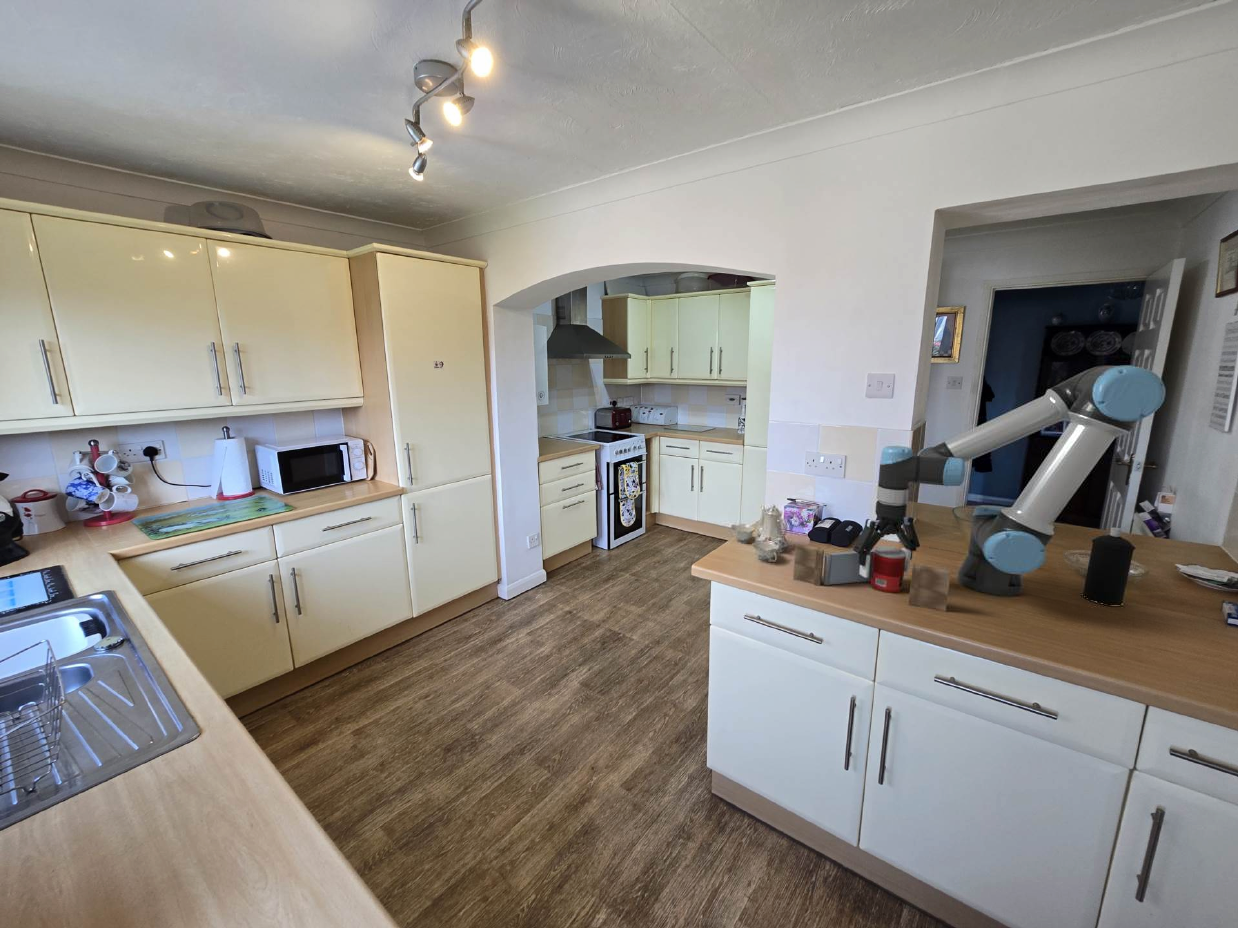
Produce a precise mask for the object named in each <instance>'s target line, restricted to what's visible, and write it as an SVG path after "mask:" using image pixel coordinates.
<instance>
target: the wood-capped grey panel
mask: <svg viewBox="0 0 1238 928" xmlns="http://www.w3.org/2000/svg"><path fill="white" fill-rule="evenodd" d="M794 549H795V550H794V563H793V579H792V580H794V581H799V582H803V583H808V584H813V585H814V586H821V584H822V583H823V571H824V568H823V567H824V559H825V548H824V547H817V546H811V545H805V544H799V543H796V544H795V548H794ZM951 574H952V573H951V570H950V569H949V570H947V569H943V568H937V567H931V566H925V565H921V564H917V563H912V569H911V577H910V588H909V596H908V605H909V606H913V607H914V606H915V607H916V606H917V607H920V608H921V607H922V608H925V609H926V608H927V609H931V610H936V611H940V612H945V613H946V611H947V603H948V596H949V590H950V583H951V582H950V581H951Z"/></svg>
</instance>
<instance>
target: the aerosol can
mask: <svg viewBox="0 0 1238 928" xmlns="http://www.w3.org/2000/svg"><path fill="white" fill-rule="evenodd" d="M1121 534H1122V528H1120V527H1111V528H1110V531H1109V534H1105V535H1099V536H1097V537H1095V538H1093V539H1092V540H1091V542H1092V545H1091V550H1090V556H1089V560H1088V566H1087V570H1086V575H1085V581H1084V587H1083V593H1082V592H1081V595H1082V594H1083V596H1085V598H1088V599H1089V600H1093V601H1097V602H1098V603H1103V604H1107V605H1121V604H1122V603H1123V602H1124V599H1125V598H1124V597H1125V593H1126V588H1127V582H1128V578H1129V573H1130V568H1131V564H1132V559H1133V554H1134V551H1136V547H1135V546H1134V545H1133V543H1132V542H1131V541H1129V540H1127V539H1126V538H1124V537H1122V536H1121ZM1083 596H1082V597H1083ZM1085 598H1084V599H1085ZM1089 600H1088V601H1089ZM1098 603H1097V604H1098ZM1107 605H1106V606H1107Z"/></svg>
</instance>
